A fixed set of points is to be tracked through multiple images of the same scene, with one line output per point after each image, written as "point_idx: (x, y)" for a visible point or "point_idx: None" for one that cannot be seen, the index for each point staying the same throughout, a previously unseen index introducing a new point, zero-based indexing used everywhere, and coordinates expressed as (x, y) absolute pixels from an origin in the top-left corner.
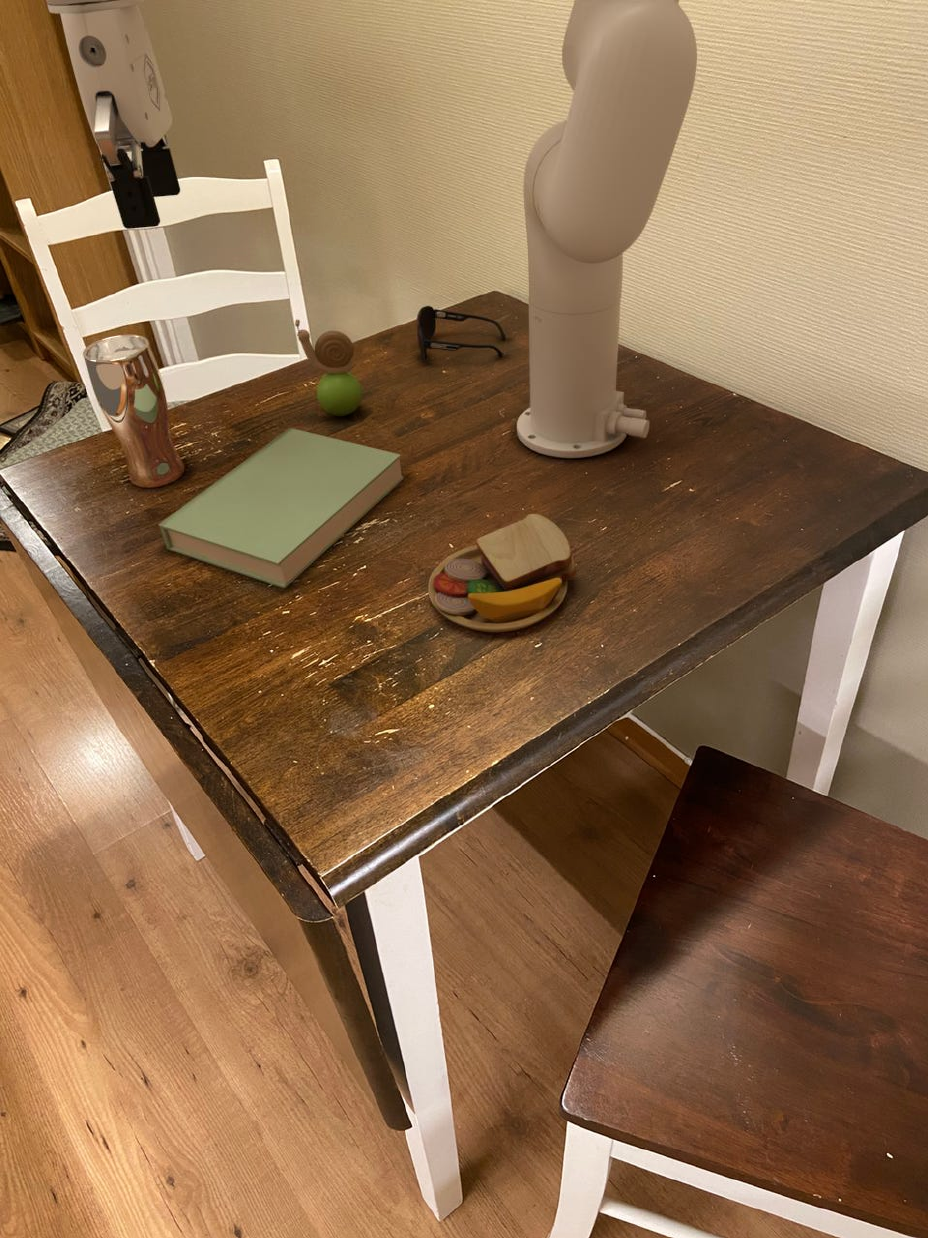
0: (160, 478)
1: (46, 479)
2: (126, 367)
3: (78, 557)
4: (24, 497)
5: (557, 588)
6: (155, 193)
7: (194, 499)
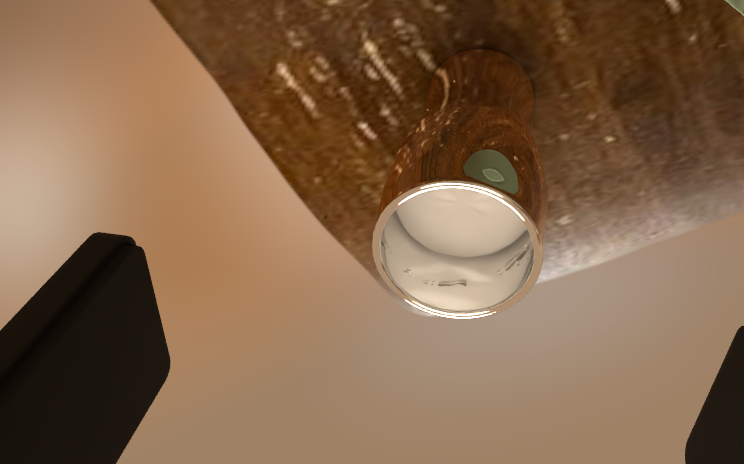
0: (530, 91)
1: None
2: (539, 218)
3: (733, 202)
4: None
5: None
6: (161, 346)
7: (739, 5)
